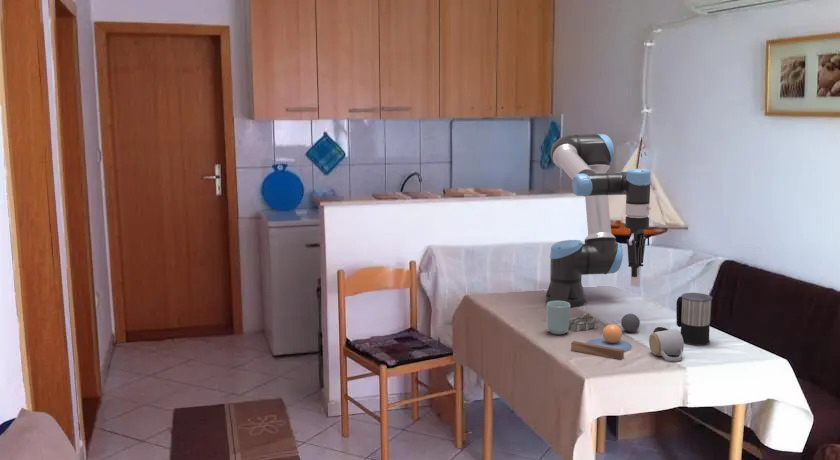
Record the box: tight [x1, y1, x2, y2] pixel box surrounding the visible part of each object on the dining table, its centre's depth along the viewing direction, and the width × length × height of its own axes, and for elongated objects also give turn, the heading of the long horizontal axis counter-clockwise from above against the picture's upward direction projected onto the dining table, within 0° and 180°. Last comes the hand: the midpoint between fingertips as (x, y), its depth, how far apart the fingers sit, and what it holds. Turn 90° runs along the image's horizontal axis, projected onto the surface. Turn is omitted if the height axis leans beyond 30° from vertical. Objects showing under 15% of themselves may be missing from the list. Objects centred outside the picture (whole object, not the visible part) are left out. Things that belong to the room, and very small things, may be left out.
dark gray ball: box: [620, 313, 641, 333], centre depth 254 cm, size 6×6×6 cm
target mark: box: [585, 337, 633, 353], centre depth 241 cm, size 14×14×1 cm
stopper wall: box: [570, 340, 625, 360], centre depth 233 cm, size 2×16×2 cm, turn 55°
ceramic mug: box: [648, 328, 685, 363], centre depth 230 cm, size 11×8×8 cm
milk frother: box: [652, 292, 713, 346], centre depth 243 cm, size 14×16×15 cm
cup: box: [546, 301, 571, 335], centre depth 254 cm, size 8×8×10 cm
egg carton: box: [569, 312, 601, 332], centre depth 260 cm, size 11×8×4 cm
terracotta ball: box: [602, 323, 623, 343], centre depth 243 cm, size 6×6×6 cm
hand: (635, 285), depth 257 cm, fingers closed
